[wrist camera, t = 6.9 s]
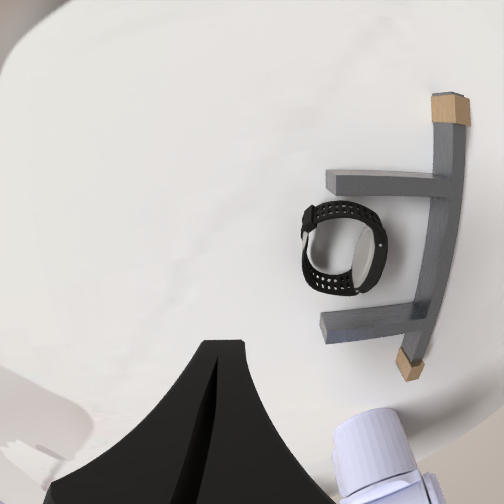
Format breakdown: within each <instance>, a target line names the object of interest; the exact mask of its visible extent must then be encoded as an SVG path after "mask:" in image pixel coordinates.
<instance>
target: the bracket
mask: <svg viewBox="0 0 504 504" xmlns="http://www.w3.org/2000/svg"><path fill="white" fill-rule="evenodd" d="M431 102H432V122H434V156H433V174H430V173H416V172H399V171H374V170H326V188H327V189H328V190H329V191H330V192H332V193H333V194H334V195H336V196H428V197H431V203H430V213H429V221H428V229H427V236H426V243H425V249H424V255H423V261H422V266H421V271H420V276H419V281H418V286H417V290H416V295H415V299H414V302H413V303H406V304H398V305H391V306H383V307H374V308H366V309H356V310H347V311H336V312H325V313H321V316H320V328H321V331H322V334H323V337H324V340H325V344H334V343H342V342H351V341H358V340H366V339H373V338H380V337H386V336H392V335H398V334H404V333H405V336H404V340H403V343H402V346H401V347H400V349H399V353H398V356H397V359H396V364H397V366H398V368H399V370H400V372H401V374H402V376H403V378H404V380H405V381H406V382H407V381H412V380H416V379H419V377H420V374H421V372H422V370H423V367H424V365H425V364H424V362H423V361H422V359H423V356H424V354H425V351H426V348H427V346H428V343H429V340H430V337H431V334H432V331H433V328H434V325H435V322H436V319H437V316H438V313H439V309H440V306H441V303H442V299H443V295H444V292H445V288H446V284H447V280H448V276H449V272H450V267H451V263H452V258H453V253H454V248H455V243H456V237H457V231H458V225H459V218H460V210H461V202H462V192H463V181H464V166H465V126H471V121H470V100H469V98H465V97H464V95H461V94H458V93H454V92H443V93H435V94H432V97H431Z"/></svg>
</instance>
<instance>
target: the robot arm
mask: <svg viewBox="0 0 504 504" xmlns="http://www.w3.org/2000/svg"><path fill="white" fill-rule="evenodd" d="M333 440H334V448H333V451H332V459H333V464H334V469H335V475H336V480H337V486H338V490H339V492H340V494H341V496H342V497H343V498H344V499H342V500H340V504H446V503H445V500H444V497H443V494H442V491H441V488H440V486H439V483H438V480H437V478H436V475H435V474H430V473H429V472H427V473H426V474H424V475H423V476H422V475H421V473H420V471H419V469H418V467H417V464H416V461H415V458H414V456H413V453H412V450H411V448H410V445H409V442H408V440H407V437H406V434H405V432H404V429H403V427H402V424H401V422H400V419H399V417H398V414H397V412H396V411H395V410H393V409H390V408H378V409H372V410H368V411H365V412H362V413H360V414H357V415H355V416H353V417H351V418H349V419H347V420H346V421H344V422H343V423H342V424H341V425H339V426H338V427H337V428H336V430H335V431H334V433H333ZM423 477H424V479H423ZM424 480H425V482H424ZM425 484H426V485H425ZM0 504H4V503H3V502H1V501H0ZM43 504H336V503H335V502H334V501H333V500H332V499H331V498H330V497H329V496H328V495H327V494H326V493H325V492H324V491H323V490H322V489H321V488H320V487H319V486H318V485H317V484H316V483H315V481H314V480H313V479H312V478H311V477H310V476H309V475H308V474H307V472H306V471H305V470H304V468H303V467H302V466H301V465H300V463H299V462H298V461H297V459H296V458H295V457H294V456H293V454H292V453H291V452H290V450H289V449H288V447H287V446H286V444H285V443H284V441H283V440H282V438H281V437H280V435H279V433H278V432H277V430H276V428H275V427H274V425H273V423H272V422H271V420H270V418H269V416H268V414H267V412H266V410H265V408H264V406H263V404H262V402H261V400H260V398H259V395H258V393H257V391H256V388H255V386H254V383H253V380H252V378H251V375H250V372H249V368H248V365H247V361H246V352H245V342H244V341H242V340H204V341H203V342H202V343H201V344H200V346H199V347H198V349H197V351H196V352H195V354H194V356H193V357H192V359H191V360H190V362H189V363H188V365H187V366H186V368H185V369H184V371H183V372H182V374H181V375H180V376H179V378H178V379H177V381H176V382H175V383H174V385H173V386H172V387H171V389H170V390H169V391H168V392H167V393H166V395H165V396H164V397H163V398H162V400H161V401H160V402H159V403H158V404H157V406H156V407H155V408H154V409H153V410H152V411H151V412H150V413H149V414H148V415H147V416H146V417H145V418H144V419H143V420H142V421H141V422H140V423H139V424H138V425H137V426H136V427H135V428H134V429H133V430H132V431H131V432H130V433H128V434H127V435H126V436H125V437H124V438H123V439H122V440H120V441H119V442H118V443H117V444H115V445H114V446H113V447H111V448H110V449H109V450H107V451H106V452H104V453H103V454H102V455H100V456H99V457H97V458H96V459H94V460H93V461H91V462H90V463H88V464H87V465H85V466H83V467H81V468H80V469H78V470H76V471H74V472H72V473H70V474H68V475H66V476H64V477H62V478H60V479H58V480H56V481H54V482H51V484H50V487H49V489H48V491H47V494H46V496H45V499H44V502H43Z"/></svg>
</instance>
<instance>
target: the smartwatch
mask: <svg viewBox="0 0 504 504" xmlns="http://www.w3.org/2000/svg"><path fill="white" fill-rule="evenodd" d="M342 205H345V206H346V207H343V206H342ZM330 206H332V207H331V208H329V207H330ZM335 206H337V207H335ZM349 206H351V207H353V208H351V207H349ZM323 208H325V209H323ZM357 208H358V209H359V210H358V209H357ZM318 210H319V211H318ZM317 211H318V212H317ZM336 211H338V212H339V213H336ZM343 211H346V213H344V212H343ZM330 212H332V214H329V213H330ZM351 212H353V214H352V213H351ZM323 214H326V215H325V216H322V215H323ZM359 215H360V216H359ZM318 216H319V218H317V217H318ZM335 218H352V219H357V220H359V221H362V222H364V223H365V224H366V225H368V226H367V227H366V228H365V229H364V230H363V232H362V234H361V236H360V238H359V240H358V243H357V246H356V249H355V253H354V257H353V262H352V266H351V268H352V269H350V270H349V271H348V272H345V273H343V274H339V275H328V274H325V273H321V272H319V271H317V270H316V269H315V268H314V267H313V266H312V265H311V264H310V262H309V259H308V257H307V253H306V252H307V247H308V238H309V232H311V231H312V230H314V229H315V228H316V227H317V224H318V223H320V222H322V221H325V220H329V219H335ZM302 223H303V224H302V228H301V239H302V241H303V253H302V271H303V275H304V277H305V280H306V282H307V283H308V285H309V286H310V287H312V288H313V289H315V290H317V291H319V292H322V293H326V294H331V295H339V296H355V295H357V294H359V292H361V293H366V292H368V291H369V290H370V289H371V288H373V287H374V286H375V285H376V284H377V283H378V281H379V279H380V277H381V275H382V272H383V269H384V267H385V263H386V259H387V252H388V238H387V234H386V231H385V229H384V228H383V227H382V224H381V221H380V218H379V216H378V215H377V214H376V213H375V212H373V211H372V210H370V209H369V208H367V207H365V206H363V205H360V204H358V203H355V202H351V201H341V200H339V201H330V202H326V203H322V204H320V205H318V206H316V207H315V206H314V205H311V206H310V207H309V208H307V209H306V210H305V211H304V215H303V218H302ZM313 273H314V275H313ZM317 275H318V276H319V278H317V277H316V276H317ZM322 277H324V281H323V280H322ZM328 279H331V281H330V282H328V281H327V280H328ZM335 279H336V280H337V282H334V280H335ZM342 280H343V281H342ZM316 282H317V283H318V286H317V283H316ZM322 284H323V285H324V288H322ZM328 286H330V289H328ZM334 287H336V288H337V290H335V289H334ZM341 287H343V288H344V289H341ZM347 287H350V288H347Z"/></svg>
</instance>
